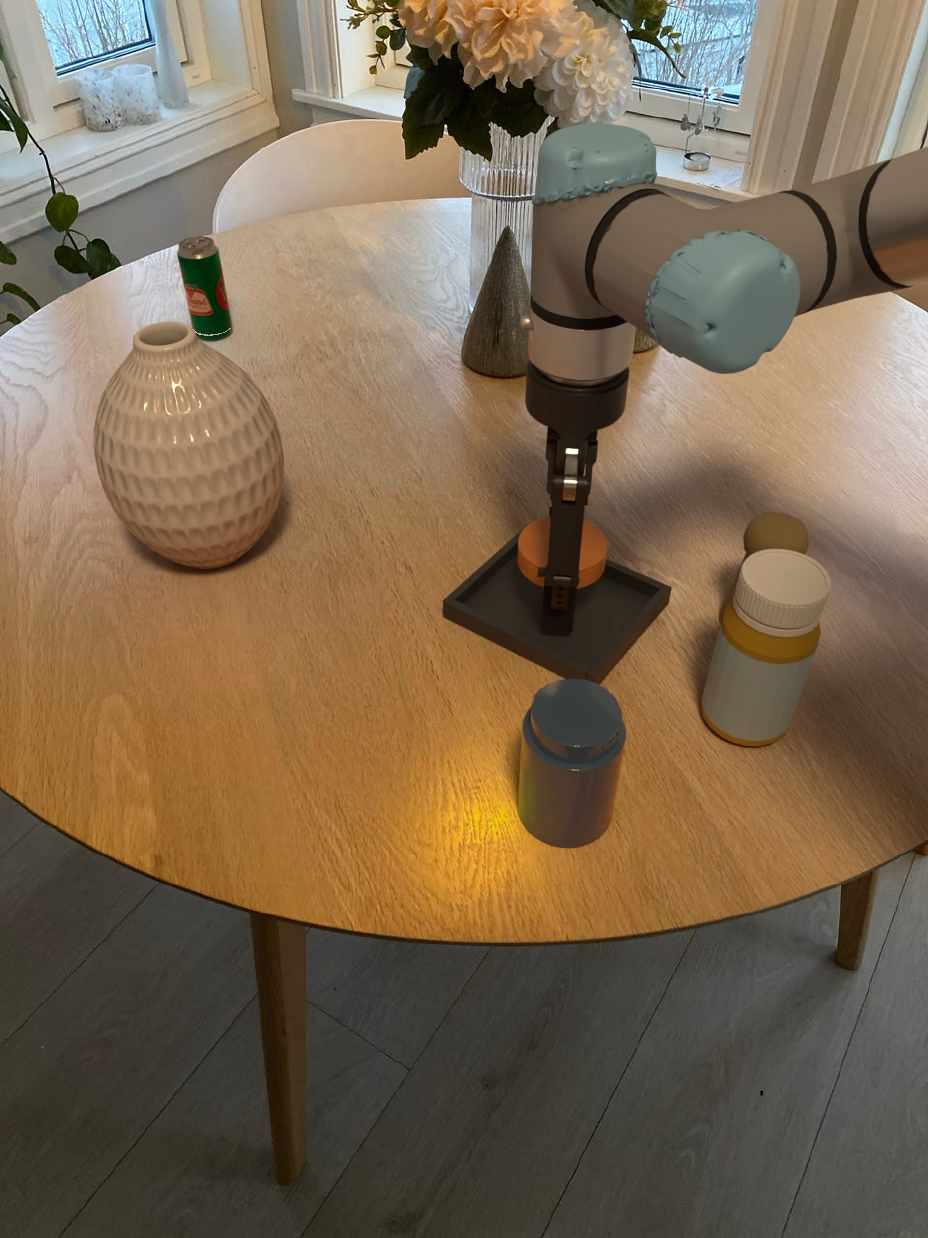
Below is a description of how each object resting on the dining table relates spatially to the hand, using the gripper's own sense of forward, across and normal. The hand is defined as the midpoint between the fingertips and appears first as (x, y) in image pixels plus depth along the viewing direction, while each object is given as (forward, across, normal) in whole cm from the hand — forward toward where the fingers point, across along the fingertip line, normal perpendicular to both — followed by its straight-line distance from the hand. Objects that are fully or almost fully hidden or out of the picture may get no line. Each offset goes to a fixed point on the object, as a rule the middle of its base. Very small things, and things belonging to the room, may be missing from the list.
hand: (558, 595), depth 85 cm
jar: (+2, +22, +1) cm, 22 cm away
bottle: (+2, +11, +15) cm, 19 cm away
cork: (+2, 0, +17) cm, 18 cm away
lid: (-6, 0, 0) cm, 6 cm away
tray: (+2, 0, 0) cm, 2 cm away
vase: (+2, -6, -34) cm, 34 cm away
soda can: (+2, -49, -47) cm, 68 cm away
